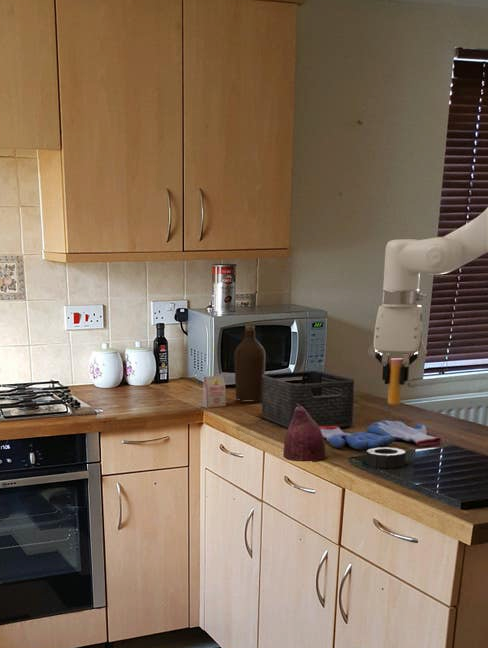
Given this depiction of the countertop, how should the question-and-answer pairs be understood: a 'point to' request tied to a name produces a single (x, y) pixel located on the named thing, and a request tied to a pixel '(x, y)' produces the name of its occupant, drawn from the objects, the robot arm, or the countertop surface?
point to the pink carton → (214, 391)
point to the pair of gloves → (379, 435)
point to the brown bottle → (249, 368)
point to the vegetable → (303, 438)
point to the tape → (385, 457)
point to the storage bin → (308, 398)
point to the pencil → (394, 381)
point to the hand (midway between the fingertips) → (394, 383)
